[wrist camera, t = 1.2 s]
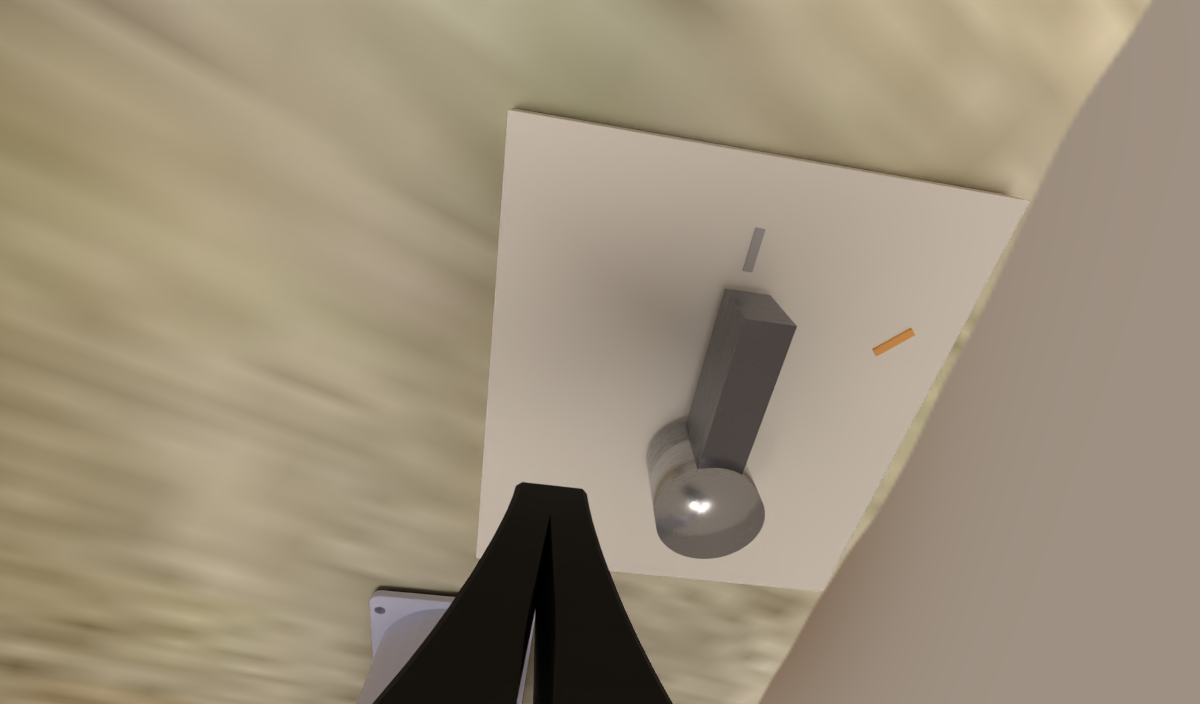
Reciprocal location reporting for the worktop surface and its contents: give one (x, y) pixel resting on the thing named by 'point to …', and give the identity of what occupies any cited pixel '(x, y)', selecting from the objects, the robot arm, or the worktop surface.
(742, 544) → the dial lever
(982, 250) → the dial panel
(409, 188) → the worktop surface
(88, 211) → the worktop surface
